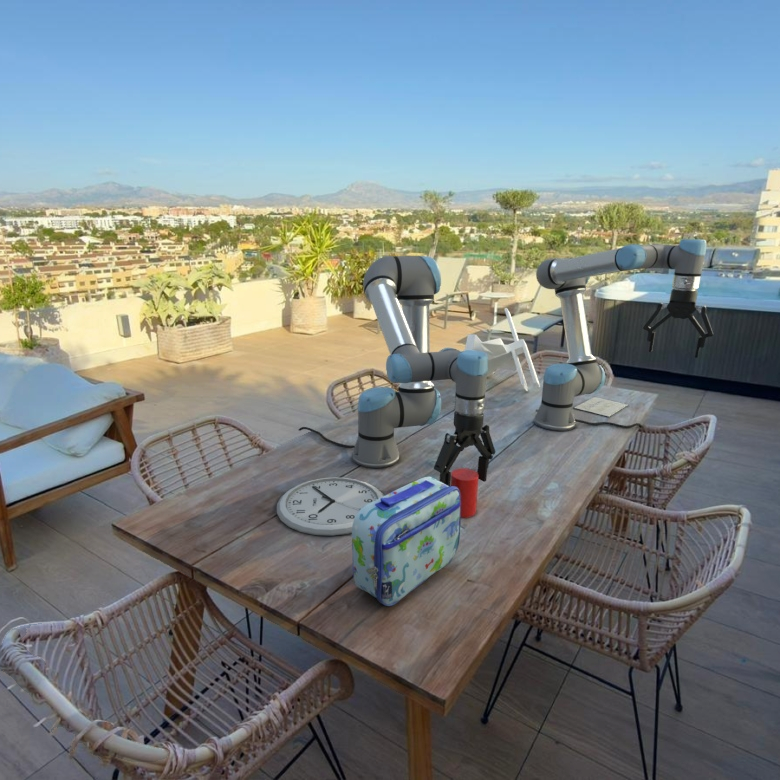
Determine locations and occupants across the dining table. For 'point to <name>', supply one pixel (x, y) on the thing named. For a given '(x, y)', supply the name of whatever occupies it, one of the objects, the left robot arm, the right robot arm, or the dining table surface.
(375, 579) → the lunch box
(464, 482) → the canister
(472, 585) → the dining table surface
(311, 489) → the wall clock
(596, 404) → the invitation card
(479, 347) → the white plastic object
